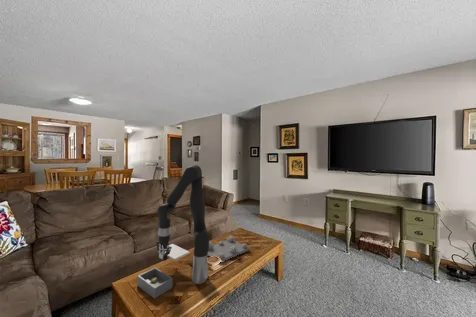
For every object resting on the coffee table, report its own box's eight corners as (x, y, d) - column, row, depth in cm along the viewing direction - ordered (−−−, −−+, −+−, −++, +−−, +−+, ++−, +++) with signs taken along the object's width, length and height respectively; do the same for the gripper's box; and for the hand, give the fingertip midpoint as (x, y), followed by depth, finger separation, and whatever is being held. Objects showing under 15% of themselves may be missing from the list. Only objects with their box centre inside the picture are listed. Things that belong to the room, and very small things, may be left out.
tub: (155, 276, 134) (155, 267, 134) (172, 287, 124) (172, 278, 124) (137, 285, 125) (137, 275, 124) (154, 298, 114) (154, 288, 114)
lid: (172, 246, 152) (172, 241, 152) (189, 254, 142) (189, 249, 142) (152, 255, 139) (152, 249, 139) (169, 264, 128) (169, 258, 128)
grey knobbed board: (219, 265, 151) (219, 252, 151) (199, 252, 170) (200, 240, 170) (250, 251, 176) (251, 239, 176) (230, 241, 194) (231, 230, 194)
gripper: (175, 234, 134) (174, 260, 134) (162, 229, 142) (161, 253, 142) (166, 238, 128) (164, 265, 128) (152, 232, 136) (151, 257, 136)
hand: (163, 259), depth 135 cm, fingers closed on lid, 3 cm apart
